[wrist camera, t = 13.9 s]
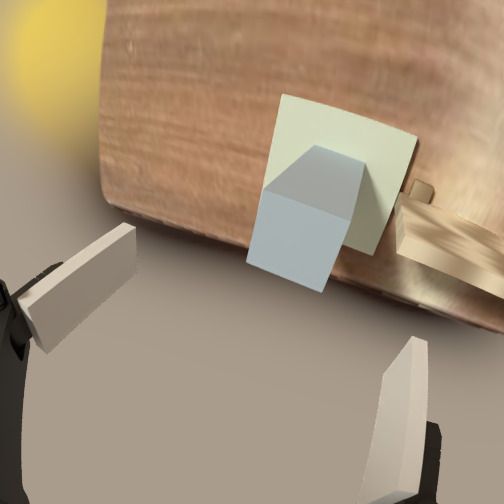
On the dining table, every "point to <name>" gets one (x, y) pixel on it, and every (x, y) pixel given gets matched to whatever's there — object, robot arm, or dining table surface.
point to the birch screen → (448, 241)
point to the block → (306, 217)
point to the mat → (350, 144)
